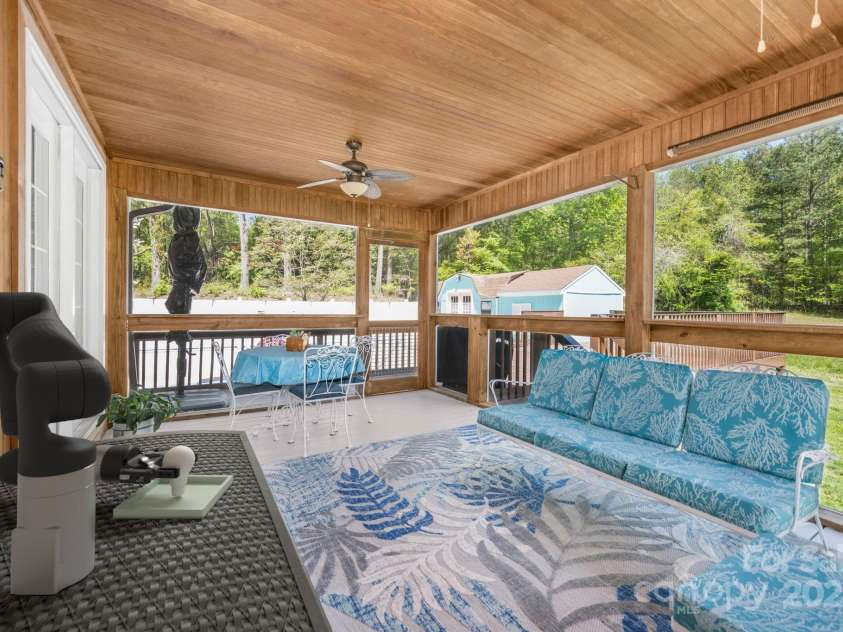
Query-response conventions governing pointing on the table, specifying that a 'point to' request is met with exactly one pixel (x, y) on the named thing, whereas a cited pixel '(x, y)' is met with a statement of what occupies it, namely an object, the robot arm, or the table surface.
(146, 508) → the parts tray
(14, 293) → the robot arm
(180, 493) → the lightbulb
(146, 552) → the table surface
